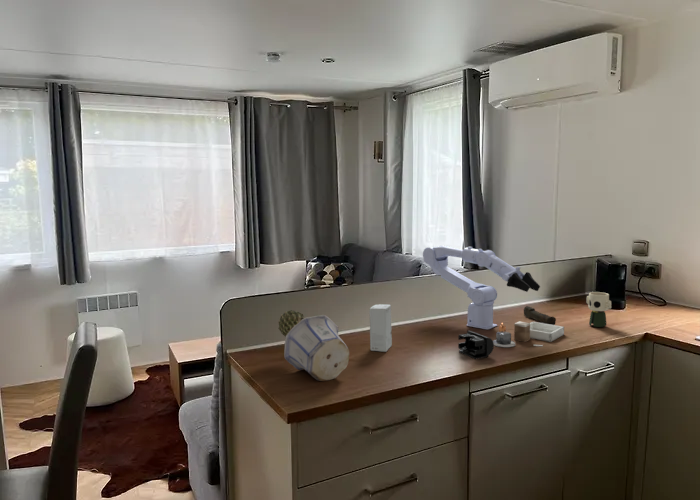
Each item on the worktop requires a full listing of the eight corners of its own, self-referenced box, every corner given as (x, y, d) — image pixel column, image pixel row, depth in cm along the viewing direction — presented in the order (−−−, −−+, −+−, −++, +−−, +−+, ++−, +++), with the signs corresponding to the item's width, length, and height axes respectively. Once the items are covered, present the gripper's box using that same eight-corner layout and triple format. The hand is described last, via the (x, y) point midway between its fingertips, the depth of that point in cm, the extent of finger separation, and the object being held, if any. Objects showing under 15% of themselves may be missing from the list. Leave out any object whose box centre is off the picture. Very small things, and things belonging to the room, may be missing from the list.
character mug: (579, 324, 211) (580, 292, 210) (592, 322, 215) (593, 290, 213) (603, 330, 202) (604, 297, 200) (616, 328, 205) (617, 295, 203)
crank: (511, 344, 184) (511, 331, 183) (496, 343, 185) (496, 330, 184) (508, 334, 196) (509, 322, 195) (494, 333, 197) (495, 321, 196)
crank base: (492, 346, 184) (492, 345, 184) (491, 340, 191) (491, 338, 191) (544, 349, 180) (544, 347, 180) (541, 342, 188) (541, 341, 188)
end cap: (494, 356, 173) (494, 336, 173) (476, 360, 170) (476, 339, 170) (474, 348, 182) (474, 329, 182) (457, 351, 179) (457, 332, 178)
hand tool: (556, 326, 210) (556, 314, 210) (547, 327, 209) (547, 315, 209) (529, 315, 228) (530, 304, 228) (521, 316, 228) (521, 305, 227)
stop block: (513, 340, 192) (514, 323, 191) (519, 337, 195) (519, 321, 194) (524, 342, 189) (525, 325, 188) (529, 339, 192) (530, 323, 191)
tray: (518, 335, 196) (518, 327, 196) (532, 329, 205) (532, 321, 205) (550, 341, 188) (551, 333, 188) (563, 334, 197) (564, 326, 197)
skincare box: (386, 352, 179) (386, 309, 178) (369, 351, 181) (368, 308, 179) (392, 345, 187) (392, 303, 185) (375, 344, 189) (375, 302, 187)
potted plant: (361, 329, 154) (312, 289, 177) (305, 342, 145) (262, 298, 168) (356, 381, 160) (309, 335, 183) (302, 397, 151) (261, 347, 174)
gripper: (498, 260, 195) (528, 279, 186) (518, 260, 205) (548, 279, 196) (490, 277, 197) (519, 297, 189) (510, 276, 207) (539, 295, 199)
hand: (533, 289), depth 193 cm, fingers open, 7 cm apart
